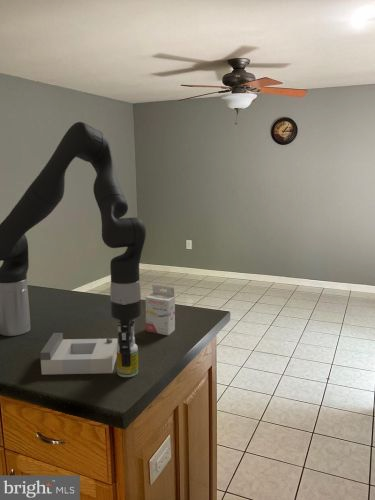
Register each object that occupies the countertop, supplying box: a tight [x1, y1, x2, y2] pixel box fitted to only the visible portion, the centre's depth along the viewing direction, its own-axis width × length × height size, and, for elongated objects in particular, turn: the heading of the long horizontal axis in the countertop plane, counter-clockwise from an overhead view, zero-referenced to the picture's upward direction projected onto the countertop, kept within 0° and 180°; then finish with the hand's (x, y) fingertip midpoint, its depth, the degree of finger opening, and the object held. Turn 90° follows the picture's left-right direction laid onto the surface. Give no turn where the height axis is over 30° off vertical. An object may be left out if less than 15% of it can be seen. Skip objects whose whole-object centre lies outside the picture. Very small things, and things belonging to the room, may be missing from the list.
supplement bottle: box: [116, 335, 139, 378], centre depth 108 cm, size 5×5×10 cm
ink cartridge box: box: [145, 284, 176, 336], centre depth 136 cm, size 9×5×15 cm, turn 65°
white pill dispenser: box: [39, 332, 119, 375], centre depth 114 cm, size 18×13×6 cm
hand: (127, 360), depth 109 cm, fingers closed on supplement bottle, 5 cm apart
